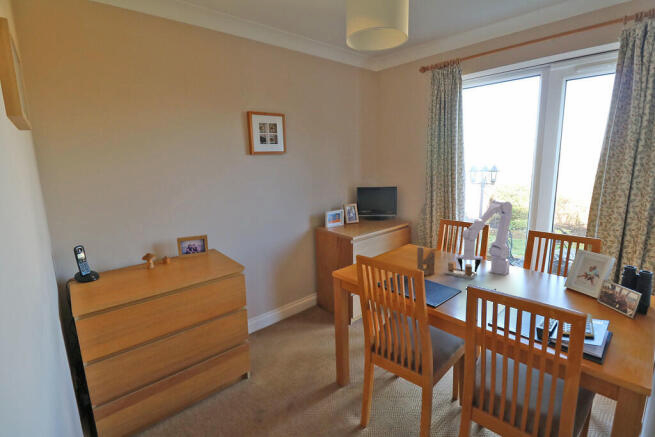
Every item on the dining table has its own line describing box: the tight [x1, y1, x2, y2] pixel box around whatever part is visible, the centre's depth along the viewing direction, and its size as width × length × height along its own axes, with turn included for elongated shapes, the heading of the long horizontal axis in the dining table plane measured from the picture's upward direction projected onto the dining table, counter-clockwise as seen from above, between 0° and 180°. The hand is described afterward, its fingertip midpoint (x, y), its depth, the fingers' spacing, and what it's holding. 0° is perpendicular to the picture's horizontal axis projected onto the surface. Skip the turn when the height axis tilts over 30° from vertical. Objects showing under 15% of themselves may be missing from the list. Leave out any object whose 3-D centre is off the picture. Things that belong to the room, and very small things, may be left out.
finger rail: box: [446, 260, 478, 280], centre depth 186 cm, size 15×8×6 cm, turn 45°
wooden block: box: [416, 246, 436, 277], centre depth 188 cm, size 4×11×18 cm, turn 106°
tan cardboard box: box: [464, 263, 473, 276], centre depth 184 cm, size 3×4×6 cm
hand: (468, 271), depth 183 cm, fingers open, 7 cm apart
